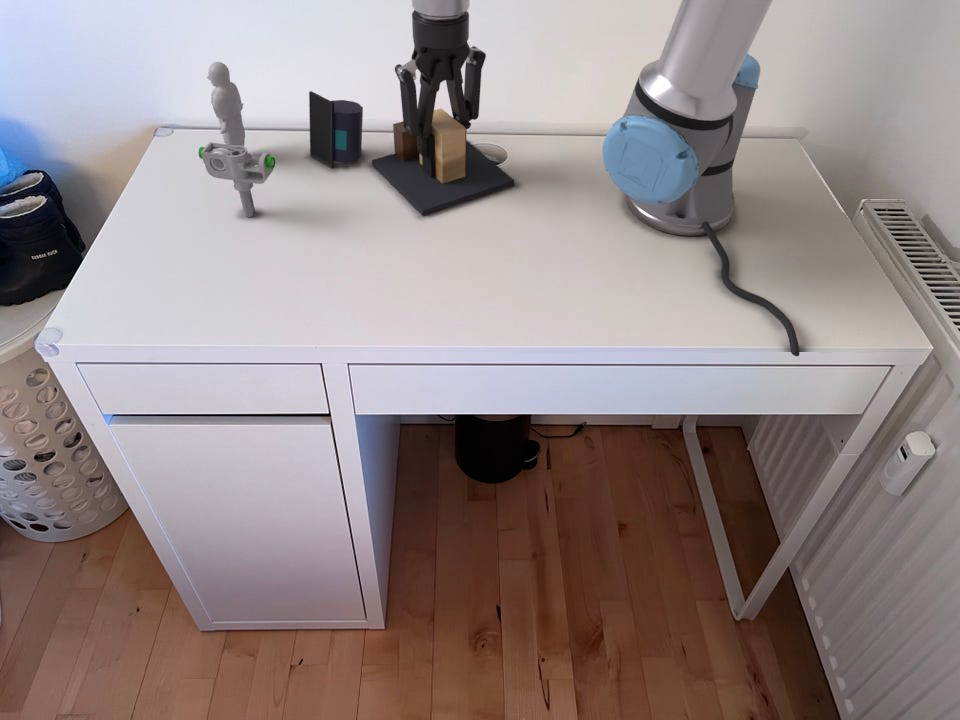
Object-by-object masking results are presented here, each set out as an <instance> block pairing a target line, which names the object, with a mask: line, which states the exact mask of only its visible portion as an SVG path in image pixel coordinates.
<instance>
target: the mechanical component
mask: <svg viewBox="0 0 960 720" xmlns="http://www.w3.org/2000/svg"><path fill="white" fill-rule="evenodd" d="M198 158H199V159H201V160H202V162H203V164H204V166H205V170H206V172H207V173H208V174H209V176H211V177H213V178H215V179H222V180H228V181H233V189H235V190H236V191H238V193H239V198H240V202H241V207H242V211H243V215H244V216H245V218H252V217H253V216H254V213H256V209H255V203H254V199H253V195H252V192H251V189H252V188H253V187H254V184H256V185H263V184H265V182H266V181H267V179H268V178H269V177H270V175H271V174H272V173H273V172H274V169H275V167H276V163H277V162H276V157H275V156H273V155H271V154H270V153H266V152H263V153H262V154H261V155H260V157H259V159H255V158H252V153H250V152H248V149H247V147H245V145H244V146H238V145H237V146H235V145H227V144H225V143H219V142H213V141H210V142H208V144H206V146H200V147H199V148H198Z"/></svg>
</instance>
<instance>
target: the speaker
mask: <svg viewBox="0 0 960 720" xmlns="http://www.w3.org/2000/svg"><path fill="white" fill-rule="evenodd" d="M308 101H309V102H308V103H309V104H308V107H309V109H308V111H309V112H308V113H309V157H311V158H312V159H313V160H315V161H316V162H317V161H318V162H319V163H321V164H323V165H324V166H326V167H328V168H329V169H332V170H333V169H335V163H339V164H351V163H357V162H359V161H360V159H361V157H362V144H363V143H362V142H363V117H364V114H363V113H364V107H363V106H362V105H361V104H360V103H359V102H356V101H352V100H346V99H337V100H331V99H328V98H326V97H323V96H322V95H320V94H318V93H316V92H314V91H311V90H310V91H308Z"/></svg>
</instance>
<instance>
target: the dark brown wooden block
mask: <svg viewBox="0 0 960 720" xmlns="http://www.w3.org/2000/svg"><path fill="white" fill-rule="evenodd" d="M392 129H393V144H394V145H393V146H394V154H396V155H397V156H398V157H399V158H400V159H401V160H402V161H404V162H405V161H408V160H411V159H415V158H418V157H420V155H419V153H418V151H417V136H416V137H413V136H412V135H411V134H410V133H409V132H407V131H406V130H405V129H404V124H403V121H399V122H396V123H393V124H392Z"/></svg>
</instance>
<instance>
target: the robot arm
mask: <svg viewBox="0 0 960 720" xmlns="http://www.w3.org/2000/svg"><path fill="white" fill-rule="evenodd" d="M773 1H774V0H681V1H680V2H681V3H680V5H679V8H678V10H677V13H676V15H675V18H674V21H673V23H672V26H671V28H670V30H669V33H668V36H667V38H666V41H665V43H664V46H663V49H662V51H661V53H660V56H659V59H656V60H655V61H651V62H649V63H648V64H646V65H644V66H643V67H642V68H641V70H640V72H639V75H638V77H637V80H636V83H635V86H634V88H633V89H632V90H633V91H632V93H631V95H630V99H629V101H628V104H627V107H626V109H625V111H624V113H623V115H622V117H621V118H619V119H617V120H616V121H615V122H614V123H613V124H612V125H611V127H610V128H609V131H608V132H607V134H606V136H605V138H604V141H603V144H602V161H603V165H604V168H605V170H606V172H607V173H608V174H609V176H610V180H611V181H612V183H613V184H614V185H615V186H616V187H617V188H618V189H619V190H620V191H621V192H622V193H623V194H625V195H626V196H627V197H626V198H627V199H626V201H627V206H628V209H629V210H630V212H631V213H632V214H633V216H635V218H637V219H638V220H639V221H641V222H642V223H643V224H645V225H647V226H648V227H651V228H653V229H656V230H657V231H661V232H664V233H667V234H672V235H679V236H705V235H706V236H707V237H708V239H709V241H710V243H711V245H712V246H713V248H714V249H715V251H716V252H717V254H718V256H719V258H720V260H721V272H720V277H721V281H722V283H723V286H725V288H726V289H728V290H729V291H730V292H731V293H732V294H734V295H736V296H738V297H740V298H742V299H745V300H747V301H750V302H752V303H755V304H757V305H759V306H761V307H763V308H764V309H765V310H767V311H768V312H769V313H771V314H772V315H773V316H774V317H775V318H776V319H777V320H778V321H779V322H780V323H781V324H782V326H783V328H784V329H785V332H786V334H787V335H786V336H787V338H788V342H789V348H790V353H791V355H793V356H794V357H799V356H800V346H799V340H798V337H797V333H796V330H795V327H794V325H793V323H792V322H791V319H789V317H788V316H787V315H786V314H785V313H784V312H783V311H782V310H780V308H779V307H777V306H776V305H775V304H773V302H771V301H769V300H768V299H766V298H764V297H762V296H760V295H758V294H756V293H753V292H750V291H747V290H745V289H743V288H741V287H739V286H738V285H736V284H734V282H733V281H732V280H731V278H730V266H731V265H730V260H729V256H728V254H727V252H726V250H725V248H724V246H723V245H722V243H721V241H720V240H719V239H718V237H717V235H716V232H717V231H719V230H721V229H723V228H724V227H726V225H727V224H728V223H730V220H731V217H732V215H733V211H734V208H735V196H734V195H735V194H734V191H733V187H734V185H733V166H734V163H735V159H736V155H737V152H738V149H739V146H740V143H741V139H742V137H743V133H744V130H745V128H746V123H747V120H748V116H749V113H750V110H751V108H752V104H753V100H754V97H755V94H756V91H757V90H758V89H759V81H760V75H761V65H760V62H758V61H759V60H757V59H756V58H755V57H754V56H753V55H750V54H749V51H750V48H751V46H752V44H753V43H754V40H755V38H756V36H757V34H758V33H759V30H760V28H761V26H762V23H763V21H764V19H765V17H766V16H767V14H768V11H769V9H770V6H771V4H772V2H773ZM470 2H471V1H470V0H411V7H412V9H413V11H412V12H411V24H412V25H411V26H412V41H413V47H414V48H413V51H412V54H411V59H410V60H409V61H408V62H406V63H405V64H403V65H402V64H399V63H398V64H396V65H395V66H394V72H395V74H396V76H397V79H398V81H399V89H400V100H401V113H402V122H403V124H404V129H405V130H406V131H407V132H409V133H410V134H411V135H412V136H413V137H416V136H417V151H418V153H419V154H420V155H422V167H423V170H424V171H425V172H426V173H427V174H428V175H430V176H431V177H434V176H435V136H433V135H432V134H431V133H430V132H431V125H432V119H433V113H434V110H435V105H436V99H437V93H438V92H439V91H440V89H441V88H440V86H441V83H443V82H445V84H446V88H447V94H448V98H449V104H450V110H451V114H452V117H453V118H454V119H455V120H456V121H458V122H459V123H460V124H461V125H463V126H464V127H465V128H466V132H468V131H467V130H469V129H470V128H471V127H472V122H471V121H472V120H474V121H476V120H477V119H478V118H479V117H480V116H479V115H480V103H481V102H480V101H481V100H480V99H481V85H482V69H483V67H484V64H485V61H486V58H487V54H486V53H485V52H484V51H483V50H481V49H480V48H478V47H477V46H474V45H473V46H471V47H470V45H469V42H468V41H469V38H470V14H469V11H468V10H469V9H470V5H471V3H470ZM464 64H465V66H464ZM463 66H464V79H463V74H462V68H463ZM417 70H418V71H419V73H420V75H419V84H420V89H419V96H418V95H417V86H416V85H417V84H416V80H417V74H416V71H417ZM463 84H464V88H463ZM417 96H418V97H417Z"/></svg>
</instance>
